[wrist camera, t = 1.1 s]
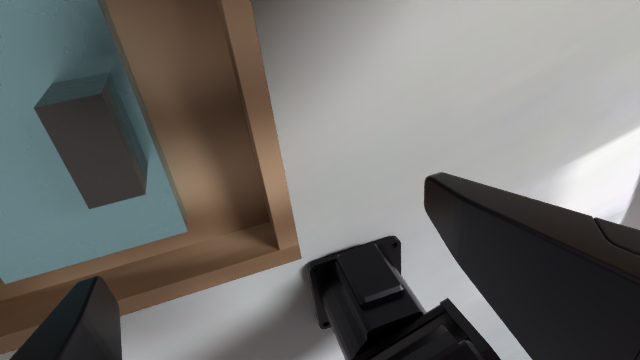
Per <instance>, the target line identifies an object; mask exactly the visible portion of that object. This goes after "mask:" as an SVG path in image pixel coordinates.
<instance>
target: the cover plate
mask: <svg viewBox="0 0 640 360" xmlns="http://www.w3.org/2000/svg"><path fill="white" fill-rule="evenodd" d="M184 232H188V226H187V214H186V211H185V208H184V206H183V203H182V200H181V198H180V195H179V193H178V190H177V187H176V185H175V182H174V180H173V177H172V174H171V172H170V169H169V166H168V164H167V161H166V159H165V156H164V153H163V151H162V148H161V146H160V143H159V140H158V138H157V135H156V132H155V130H154V127H153V125H152V122H151V119H150V117H149V114H148V112H147V109H146V106H145V104H144V101H143V98H142V96H141V93H140V91H139V88H138V85H137V83H136V80H135V77H134V75H133V72H132V70H131V67H130V64H129V62H128V59H127V57H126V54H125V51H124V49H123V46H122V43H121V41H120V38H119V36H118V33H117V30H116V28H115V25H114V23H113V20H112V17H111V15H110V12H109V9H108V7H107V4H106V2H105V0H0V278H1V279H2V280H3V282H4V283H5V284H7V283H11V282H14V281H18V280H21V279H25V278H28V277H32V276H35V275H39V274H42V273H46V272H49V271H52V270H56V269H59V268H63V267H66V266H70V265H73V264H77V263H80V262H84V261H87V260H91V259H94V258H98V257H101V256H105V255H108V254H112V253H115V252H118V251H122V250H125V249H129V248H132V247H136V246H139V245H143V244H146V243H150V242H153V241H157V240H160V239H164V238H167V237H171V236H174V235H178V234H181V233H184Z"/></svg>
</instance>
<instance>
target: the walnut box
mask: <svg viewBox="0 0 640 360" xmlns="http://www.w3.org/2000/svg"><path fill="white" fill-rule="evenodd" d="M105 2H106V4H107V7H108V9H109V12H110V15H111V17H112V20H113V23H114V25H115V28H116V30H117V33H118V36H119V38H120V41H121V43H122V46H123V49H124V51H125V54H126V57H127V59H128V62H129V64H130V67H131V70H132V72H133V75H134V77H135V80H136V83H137V85H138V88H139V91H140V93H141V96H142V98H143V101H144V104H145V106H146V109H147V112H148V114H149V117H150V119H151V122H152V125H153V127H154V130H155V132H156V135H157V138H158V140H159V143H160V146H161V148H162V151H163V153H164V156H165V159H166V161H167V164H168V166H169V169H170V172H171V174H172V177H173V180H174V182H175V185H176V187H177V190H178V193H179V195H180V198H181V200H182V203H183V206H184V208H185V211H186V214H187V226H188V232H184V233H181V234H178V235H174V236H171V237H167V238H164V239H160V240H157V241H153V242H150V243H146V244H143V245H139V246H136V247H132V248H129V249H125V250H122V251H118V252H115V253H112V254H108V255H105V256H101V257H98V258H94V259H91V260H87V261H84V262H80V263H77V264H73V265H70V266H66V267H63V268H59V269H56V270H52V271H49V272H46V273H42V274H39V275H35V276H32V277H28V278H25V279H21V280H18V281H14V282H11V283H7V284H5V283H4V282H3V280H2V279H1V278H0V354H3V353H6V352H9V351H13V350H16V349H19V348H20V347H21V346H22V345H23V344H24V343H25V341H26V340H27V339H28V338H29V337H30V336H31V334H32V333H33V332H34V331H35V330H36V329H37V328H38V326H39V325H40V324H41V323H42V322H43V321H44V320H45V318H46V317H47V316H48V315H49V314H50V313H51V311H52V310H53V309H54V308H55V307H56V306H57V305H58V303H59V302H60V301H61V300H62V299H63V298H64V297H65V295H66V294H67V293H68V292H69V291H70V290H71V288H72V287H73V286H74V285H75V284H76V283H77V282H78V281H80V280H83V279H87V278H90V277H93V276H101V277H102V278H103V279H104V280H105V282H106V284H107V285H108V287H109V289H110V290H111V292H112V294H113V295H114V297H115V299H116V300H117V303H118V305H119V310H120V316H122V315H126V314H129V313H132V312H135V311H138V310H141V309H144V308H148V307H151V306H154V305H157V304H160V303H163V302H166V301H170V300H173V299H176V298H179V297H182V296H185V295H188V294H192V293H195V292H198V291H201V290H204V289H207V288H210V287H214V286H217V285H220V284H223V283H226V282H229V281H232V280H236V279H239V278H242V277H245V276H248V275H251V274H254V273H257V272H261V271H264V270H267V269H270V268H273V267H276V266H279V265H283V264H286V263H289V262H292V261H295V260H298V259H301V253H300V248H299V243H298V238H297V233H296V228H295V223H294V218H293V213H292V208H291V203H290V198H289V193H288V187H287V182H286V177H285V172H284V167H283V162H282V157H281V152H280V147H279V142H278V137H277V132H276V127H275V122H274V116H273V111H272V106H271V101H270V96H269V91H268V86H267V81H266V76H265V71H264V66H263V61H262V56H261V51H260V46H259V40H258V35H257V30H256V25H255V20H254V15H253V10H252V5H251V0H105Z"/></svg>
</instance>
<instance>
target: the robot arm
mask: <svg viewBox="0 0 640 360" xmlns="http://www.w3.org/2000/svg"><path fill="white" fill-rule="evenodd" d="M424 207H425V210H426V213H427V215H428V216H429V218H430V219H431V221H432V223H433V224H434V226H435V228H436V229H437V231H438V233H439V234H440V236H441V237H442V239H443V241H444V242H445V244H446V246H447V247H448V249H449V251H450V252H451V254H452V255H453V257H454V258H455V260H456V261H457V263H458V264H459V266H460V267H461V268H462V270H463V271H464V272H465V274H466V275H467V276H468V277H469V279H470V280H471V281H472V283H473V284H474V285H475V286H476V288H477V289H478V290H479V292H480V293H481V294H482V295H483V297H484V298H485V299H486V301H487V302H488V303H489V304H490V306H491V307H492V308H493V310H494V311H495V312H496V313H497V315H498V316H499V317H500V319H501V320H502V321H503V322H504V324H505V325H506V326H507V328H508V329H509V330H510V331H511V333H512V334H513V335H514V337H515V338H516V339H517V340H518V342H519V343H520V344H521V346H522V347H523V348H524V349H525V351H526V352H527V353H528V355H529V356H530V357H531V358H532V360H640V230H638V229H634V228H631V227H627V226H623V225H620V224H616V223H613V222H609V221H606V220H603V219H599V218H594V219H593V217H592V216H589V215H586V214H582V213H579V212H575V211H572V210H569V209H565V208H562V207H559V206H555V205H552V204H548V203H545V202H542V201H538V200H535V199H531V198H528V197H525V196H521V195H518V194H514V193H511V192H508V191H504V190H501V189H498V188H494V187H491V186H487V185H484V184H481V183H477V182H474V181H470V180H467V179H464V178H460V177H457V176H453V175H450V174H447V173H443V172H440V173H436V174H433V175H430V176H427V177H426V179H425V183H424ZM392 243H393V244H392ZM391 244H392V245H391ZM315 268H317V269H315ZM308 272H309V277H310V282H311V288H312V293H313V298H314V304H315V309H316V314H317V319H318V323H319V326H320V328H322V329H327V328H330V327H332V329H333V331H334V334H335V336H336V339H337V341H338V343H339V346H340V348H341V350H342V353H343V355H344V358H345V360H501V359H500V358H499V357H498V355H497V354H496V353H495V351H494V350H493V349H492V348H491V346H490V345H489V344H488V343H487V342H486V340H485V339H484V338H483V337H482V336H481V335H480V334H479V333H478V331H477V330H476V329H475V328H474V327H473V326H472V325H471V324H470V322H469V321H468V320H467V319H466V318H465V317H464V316H463V314H462V313H461V312H460V311H459V310H458V309H457V308H456V307H455V305H454V304H453V303H452V302H451V301H450V300H449V299H448V298H447V299H445V300H443V301H442V302H440V305H438V306H437V307H435V308H434V309H432V310H430V311H429V312H427V313H426V311H425V310H424V308H423V307H422V305H421V304H420V302H419V301H418V299H417V298H416V296H415V295H414V294H413V292H412V291H411V289H410V288H409V286H408V285H407V283H406V282H405V280H404V279H403V278H402V276H401V242H400V240H399V239H398V238H397V237H396V236H390V237H387V238H384V239H381V240H378V241H375V242H372V243H369V244H366V245H362V246H359V247H356V248H353V249H350V250H347V251H344V252H341V253H338V254H335V255H331V256H328V257H325V258H322V259H319V260H316V261H313V262H311V263H310V264H309V266H308ZM10 360H122V348H121V327H120V310H119V305H118V303H117V300H116V299H115V297H114V295H113V294H112V292H111V290H110V289H109V287H108V285H107V284H106V282H105V280H104V279H103V278H102V277H101V276H93V277H90V278H87V279H83V280H80V281H78V282H77V283H76V284H75V285H74V286H73V287H72V288H71V290H70V291H69V292H68V293H67V294H66V295H65V297H64V298H63V299H62V300H61V301H60V302H59V303H58V305H57V306H56V307H55V308H54V309H53V310H52V311H51V313H50V314H49V315H48V316H47V317H46V318H45V320H44V321H43V322H42V323H41V324H40V325H39V326H38V328H37V329H36V330H35V331H34V332H33V333H32V334H31V336H30V337H29V338H28V339H27V340H26V341H25V343H24V344H23V345H22V346H21V347H20V348H19V349H18V351H17V352H16V353H15V354H14V355H13V356H12V357H11V359H10Z"/></svg>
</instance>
